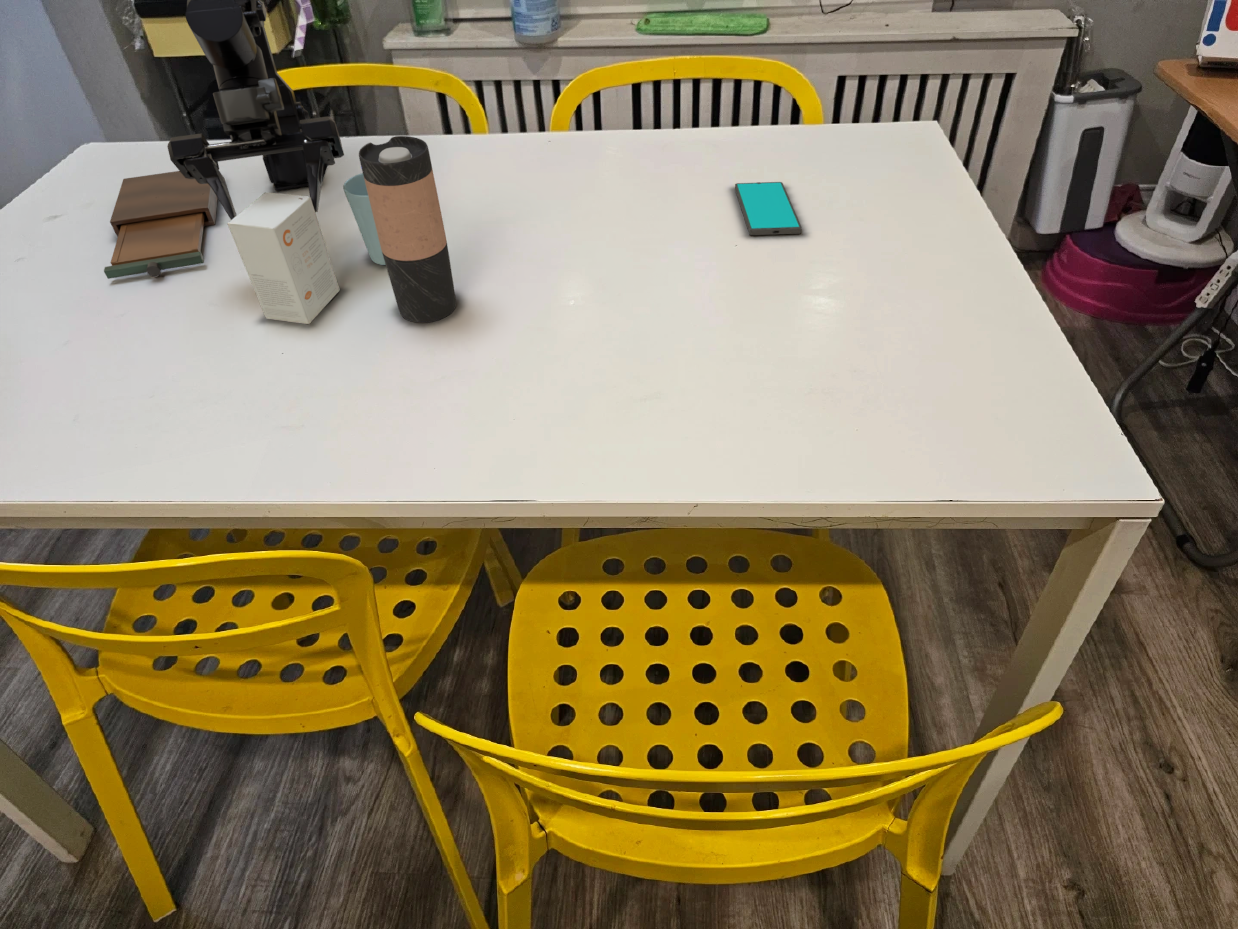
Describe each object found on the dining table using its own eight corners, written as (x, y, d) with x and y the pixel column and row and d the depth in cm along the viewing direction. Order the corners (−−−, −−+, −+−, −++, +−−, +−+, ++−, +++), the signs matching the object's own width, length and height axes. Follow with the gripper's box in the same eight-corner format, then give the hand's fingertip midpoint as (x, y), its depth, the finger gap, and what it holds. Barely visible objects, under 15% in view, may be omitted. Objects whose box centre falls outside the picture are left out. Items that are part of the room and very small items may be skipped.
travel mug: (445, 327, 96) (412, 165, 83) (387, 321, 98) (345, 161, 84) (466, 293, 102) (439, 137, 88) (411, 288, 103) (374, 133, 89)
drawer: (203, 268, 107) (199, 258, 106) (107, 284, 104) (101, 274, 103) (209, 218, 118) (205, 208, 116) (122, 231, 115) (117, 221, 114)
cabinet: (215, 224, 117) (207, 206, 115) (118, 239, 115) (109, 221, 113) (219, 182, 128) (212, 165, 126) (131, 195, 125) (123, 178, 123)
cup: (415, 268, 107) (399, 194, 100) (358, 271, 107) (337, 197, 99) (422, 240, 112) (406, 168, 105) (368, 243, 112) (348, 171, 105)
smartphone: (750, 230, 110) (734, 183, 121) (749, 235, 111) (734, 188, 122) (802, 228, 110) (782, 181, 121) (801, 233, 111) (782, 186, 122)
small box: (297, 285, 104) (264, 190, 95) (341, 290, 103) (312, 195, 94) (263, 319, 99) (225, 222, 89) (309, 325, 97) (274, 227, 88)
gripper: (134, 63, 85) (168, 204, 85) (313, 42, 89) (346, 177, 89) (171, 113, 96) (201, 238, 96) (329, 93, 100) (358, 213, 100)
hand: (275, 217), depth 95 cm, fingers open, 9 cm apart
